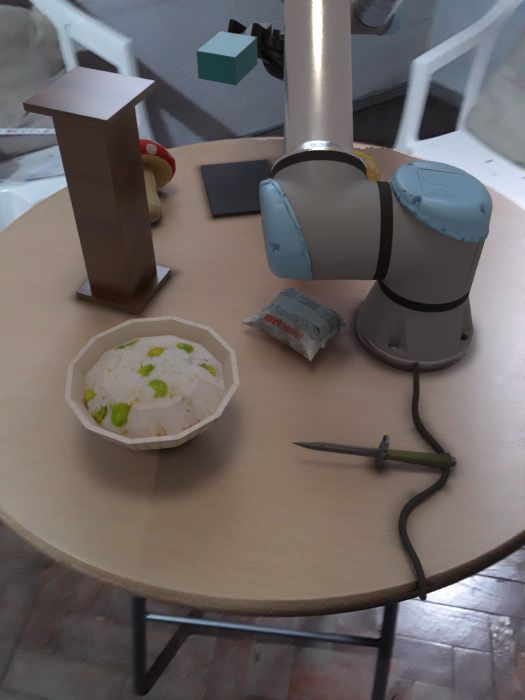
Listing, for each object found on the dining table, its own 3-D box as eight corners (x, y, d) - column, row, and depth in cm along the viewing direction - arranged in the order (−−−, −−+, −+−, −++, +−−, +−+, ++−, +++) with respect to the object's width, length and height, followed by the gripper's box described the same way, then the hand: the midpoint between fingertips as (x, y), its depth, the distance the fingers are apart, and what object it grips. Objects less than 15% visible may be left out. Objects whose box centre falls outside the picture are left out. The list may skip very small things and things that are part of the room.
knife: (287, 461, 76) (295, 433, 72) (288, 446, 77) (295, 418, 73) (451, 480, 77) (466, 454, 73) (448, 465, 78) (463, 439, 75)
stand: (139, 318, 94) (106, 120, 74) (71, 298, 97) (22, 102, 76) (176, 272, 101) (155, 80, 81) (112, 255, 104) (76, 65, 84)
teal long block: (236, 85, 97) (235, 57, 94) (198, 78, 98) (196, 50, 96) (280, 41, 108) (280, 15, 105) (245, 36, 110) (245, 9, 107)
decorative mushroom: (155, 189, 102) (145, 113, 108) (98, 220, 106) (92, 145, 112) (197, 221, 111) (186, 150, 117) (144, 249, 115) (135, 178, 121)
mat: (284, 210, 113) (284, 207, 113) (213, 217, 112) (213, 214, 111) (266, 162, 124) (266, 159, 124) (201, 168, 123) (200, 165, 122)
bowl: (54, 483, 75) (33, 426, 68) (106, 359, 88) (93, 301, 81) (226, 504, 73) (223, 448, 66) (253, 374, 87) (252, 316, 80)
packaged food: (310, 373, 87) (312, 346, 83) (241, 332, 92) (240, 304, 89) (349, 338, 92) (353, 311, 88) (281, 301, 97) (283, 273, 94)
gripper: (325, 88, 121) (287, 66, 100) (243, 73, 126) (189, 49, 104) (335, 43, 119) (298, 11, 98) (250, 30, 123) (197, -4, 102)
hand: (242, 30), depth 101 cm, fingers closed on teal long block, 3 cm apart
